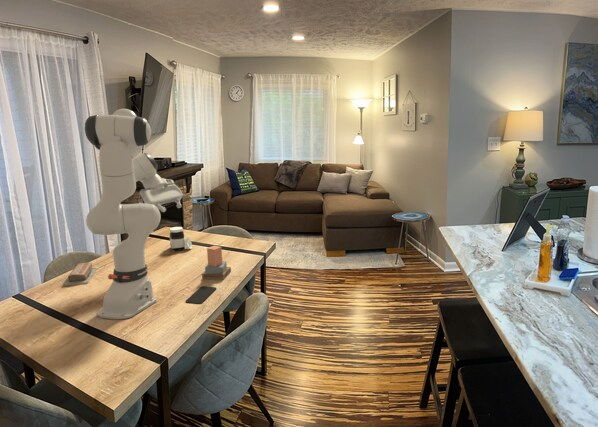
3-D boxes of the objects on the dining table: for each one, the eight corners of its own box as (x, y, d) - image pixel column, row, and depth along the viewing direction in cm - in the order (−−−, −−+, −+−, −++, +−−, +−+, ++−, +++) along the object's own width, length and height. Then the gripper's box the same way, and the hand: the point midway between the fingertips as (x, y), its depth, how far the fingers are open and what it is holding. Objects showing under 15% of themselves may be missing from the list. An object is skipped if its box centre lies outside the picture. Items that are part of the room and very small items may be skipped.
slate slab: (223, 273, 180) (222, 267, 179) (205, 273, 180) (205, 267, 179) (226, 267, 188) (226, 261, 187) (209, 267, 188) (209, 261, 187)
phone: (184, 301, 157) (201, 286, 172) (184, 303, 158) (201, 287, 172) (201, 303, 156) (217, 287, 170) (201, 305, 156) (217, 289, 170)
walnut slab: (223, 281, 179) (223, 275, 178) (202, 280, 181) (201, 273, 180) (231, 272, 189) (230, 266, 188) (210, 271, 190) (210, 265, 190)
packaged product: (72, 262, 191) (95, 260, 193) (74, 272, 192) (97, 270, 195) (61, 276, 174) (86, 274, 177) (63, 287, 175) (88, 284, 178)
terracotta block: (215, 266, 180) (214, 249, 178) (208, 265, 182) (206, 248, 181) (222, 263, 184) (221, 246, 182) (215, 261, 186) (213, 245, 184)
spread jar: (169, 247, 226) (167, 227, 223) (190, 244, 231) (188, 224, 228) (172, 253, 216) (170, 232, 213) (194, 250, 220) (192, 229, 217)
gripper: (140, 185, 180) (157, 209, 177) (175, 179, 197) (191, 200, 194) (134, 194, 183) (151, 218, 180) (169, 187, 200) (185, 208, 197)
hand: (172, 209), depth 187 cm, fingers open, 8 cm apart
